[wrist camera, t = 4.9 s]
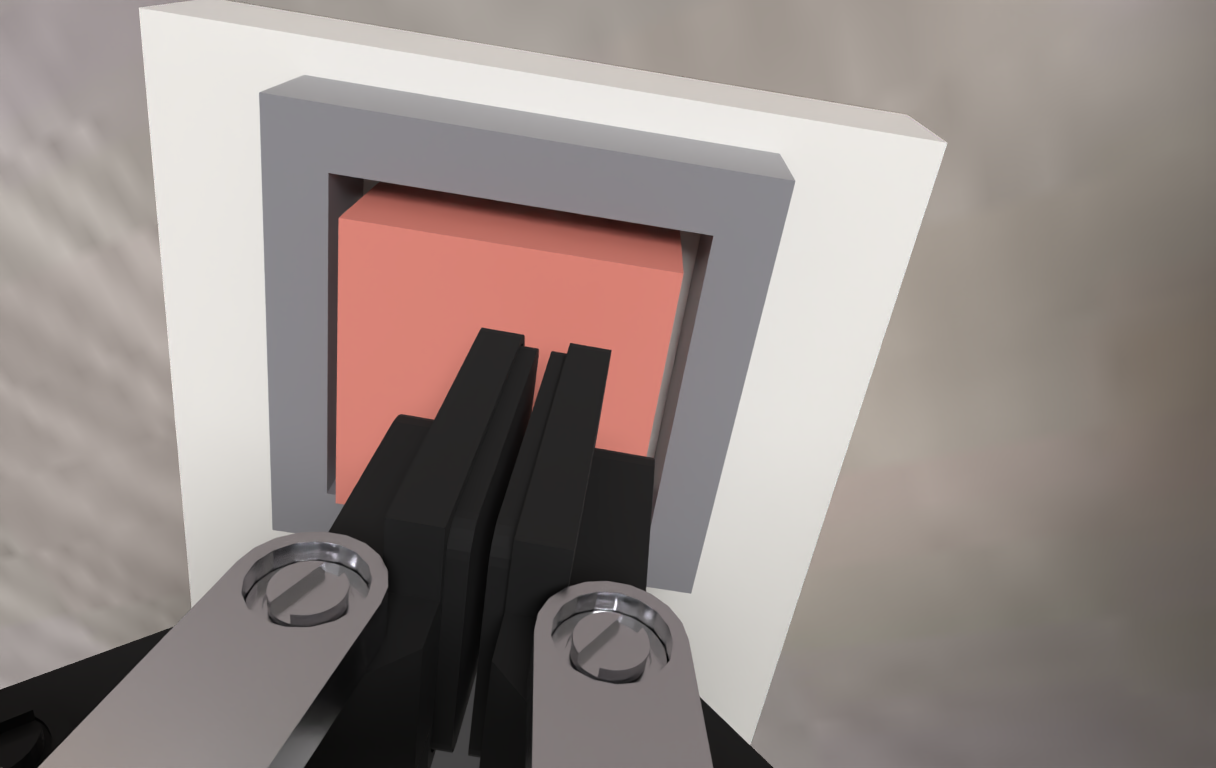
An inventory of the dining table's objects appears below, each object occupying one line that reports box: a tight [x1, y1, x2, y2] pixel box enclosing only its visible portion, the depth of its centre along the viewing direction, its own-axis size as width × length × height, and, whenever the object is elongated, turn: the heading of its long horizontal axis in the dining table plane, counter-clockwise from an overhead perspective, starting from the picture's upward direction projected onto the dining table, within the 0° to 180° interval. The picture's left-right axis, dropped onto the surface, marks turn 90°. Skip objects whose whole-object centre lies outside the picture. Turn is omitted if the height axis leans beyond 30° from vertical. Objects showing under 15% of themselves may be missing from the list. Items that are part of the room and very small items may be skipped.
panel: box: [139, 0, 947, 745], centre depth 20 cm, size 24×13×4 cm, turn 171°
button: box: [336, 181, 684, 504], centre depth 15 cm, size 5×5×2 cm
